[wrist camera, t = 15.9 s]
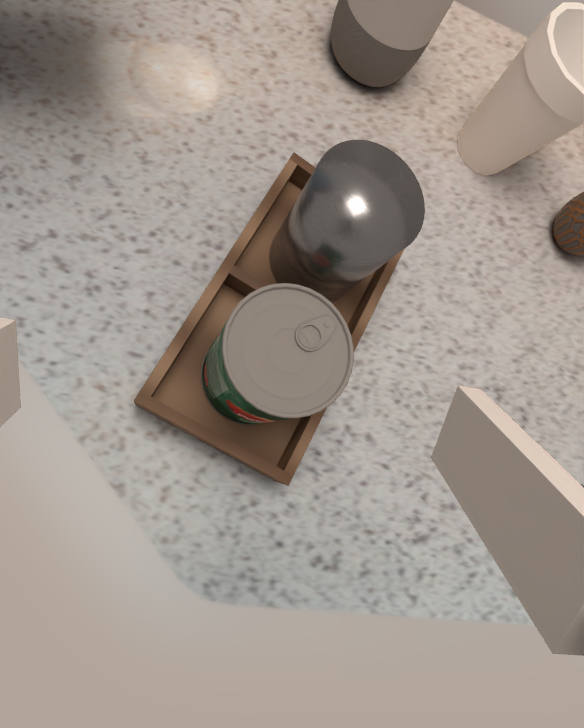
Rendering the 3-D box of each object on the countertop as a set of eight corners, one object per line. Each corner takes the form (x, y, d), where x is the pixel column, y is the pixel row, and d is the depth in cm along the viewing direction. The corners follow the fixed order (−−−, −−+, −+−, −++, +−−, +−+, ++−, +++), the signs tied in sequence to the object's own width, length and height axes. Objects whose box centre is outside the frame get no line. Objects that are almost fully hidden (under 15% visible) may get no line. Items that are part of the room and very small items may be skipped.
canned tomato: (237, 445, 34) (275, 447, 23) (180, 361, 33) (192, 326, 23) (314, 388, 36) (378, 368, 26) (261, 311, 36) (305, 259, 26)
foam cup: (527, 173, 50) (648, 87, 38) (474, 200, 47) (588, 116, 35) (486, 102, 50) (594, -8, 38) (430, 124, 47) (529, 13, 35)
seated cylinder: (270, 302, 37) (316, 247, 26) (268, 214, 38) (311, 129, 28) (355, 307, 39) (429, 260, 29) (351, 225, 40) (419, 151, 30)
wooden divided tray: (275, 481, 35) (288, 485, 32) (135, 404, 33) (133, 400, 30) (390, 251, 42) (410, 235, 39) (282, 175, 40) (293, 152, 37)
